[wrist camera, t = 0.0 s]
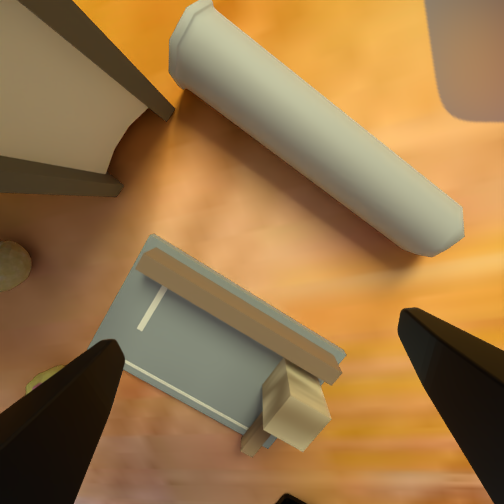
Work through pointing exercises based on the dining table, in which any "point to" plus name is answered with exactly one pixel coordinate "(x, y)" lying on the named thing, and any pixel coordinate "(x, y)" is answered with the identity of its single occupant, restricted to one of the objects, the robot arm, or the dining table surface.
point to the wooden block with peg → (288, 409)
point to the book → (64, 100)
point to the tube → (310, 132)
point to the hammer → (13, 265)
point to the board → (207, 336)
